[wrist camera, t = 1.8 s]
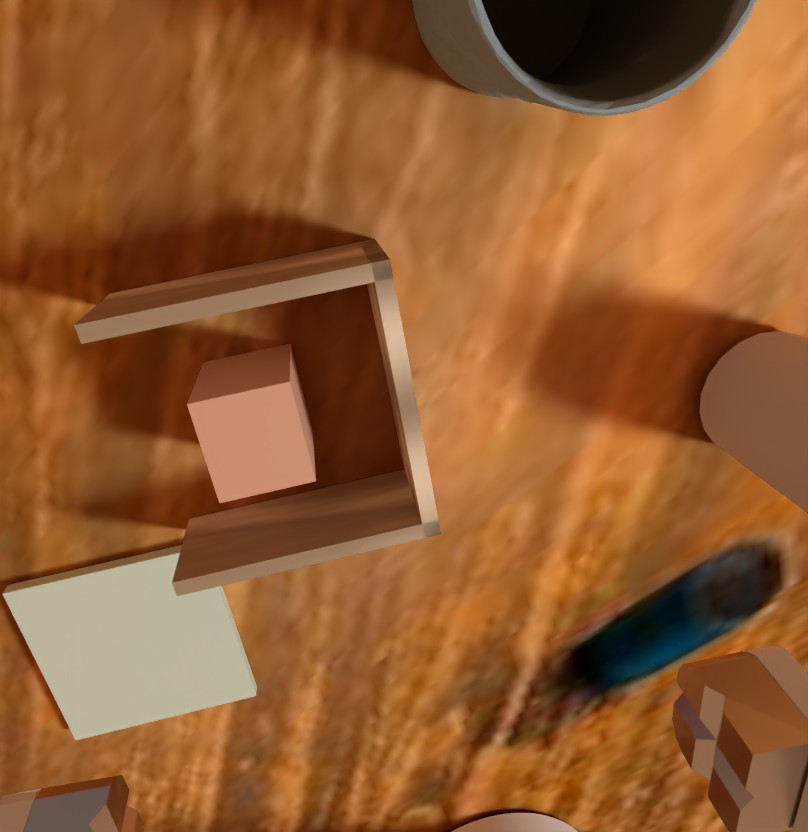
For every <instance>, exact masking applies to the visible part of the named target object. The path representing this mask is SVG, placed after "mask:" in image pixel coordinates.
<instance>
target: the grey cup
mask: <svg viewBox="0 0 808 832" xmlns="http://www.w3.org/2000/svg"><path fill="white" fill-rule="evenodd" d="M755 2H756V0H412V4H413V10H414V15H415V20H416V24H417V27H418V29H419V32H420V35H421V38H422V41H423V42H424V44H425V46H426V48H427V50H428V51H429V53H430V55H431V57H432V58H433V59H434V61H435V62H436V63H437V65H438V66H439V67H440V68H441V69H442V70H443V71H444V72H445V73H446V74H447V75H448V76H449V77H450V78H451V79H453V80H454V81H455V82H457V83H458V84H460V85H461V86H463V87H465V88H467V89H469V90H471V91H474V92H477V93H480V94H483V95H487V96H494V97H499V98H503V97H508V98H520V99H521V100H523V101H526V102H530V103H538V104H542V105H546V106H550V107H554V108H558V109H562V110H565V111H569V112H574V113H580V114H586V115H603V116H608V115H617V114H624V113H629V112H634V111H638V110H641V109H644V108H648V107H650V106H653V105H655V104H657V103H660V102H662V101H664V100H667V99H669V98H671V97H672V96H674V95H675V94H677V93H678V92H680V91H681V90H683V89H684V88H686V87H687V86H689V85H690V84H692V83H693V82H694V81H695V80H696V79H698V78H699V77H700V76H701V75H702V74H703V73H704V72H705V71H706V70H707V69H709V68H710V67H711V66H712V65H713V64H714V62H715V61H716V60H717V59H718V58H719V57H720V56H721V55H722V54H723V53H724V52H725V51H726V50H727V49H728V47H729V46H730V44H731V43H732V41H733V40H734V38H735V37H736V35H737V34H738V32H739V31H740V30H741V28H742V27H743V25H744V24H745V22H746V21H747V19H748V17H749V15H750V12H751V10H752V8H753V6H754V4H755Z"/></svg>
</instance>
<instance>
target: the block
mask: <svg viewBox="0 0 808 832" xmlns="http://www.w3.org/2000/svg"><path fill="white" fill-rule="evenodd" d="M187 406H188V409H189V412H190V415H191V418H192V421H193V424H194V427H195V431H196V434H197V437H198V440H199V443H200V446H201V449H202V452H203V455H204V458H205V461H206V464H207V467H208V470H209V473H210V476H211V479H212V482H213V485H214V488H215V491H216V494H217V498H218V501H219V503H223V502H228V501H232V500H237V499H241V498H245V497H250V496H254V495H258V494H263V493H267V492H271V491H276V490H280V489H285V488H289V487H293V486H298V485H302V484H306V483H311V482H315V481H316V475H315V460H314V444H313V430H312V426H311V422H310V418H309V414H308V411H307V407H306V403H305V399H304V395H303V391H302V387H301V383H300V379H299V375H298V371H297V367H296V363H295V360H294V356H293V352H292V348H291V344H286V345H281V346H276V347H272V348H267V349H262V350H258V351H253V352H249V353H244V354H239V355H235V356H230V357H225V358H221V359H216V360H211V361H207V362H203V364H202V367H201V369H200V372H199V374H198V377H197V379H196V382H195V385H194V387H193V390H192V392H191V395H190V397H189V400H188V403H187Z"/></svg>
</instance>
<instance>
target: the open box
mask: <svg viewBox="0 0 808 832" xmlns="http://www.w3.org/2000/svg"><path fill="white" fill-rule="evenodd" d="M363 284H367V286H368V291H369V296H370V301H371V306H372V311H373V316H374V321H375V326H376V331H377V336H378V341H379V346H380V351H381V356H382V361H383V366H384V371H385V375H386V380H387V385H388V390H389V395H390V400H391V405H392V410H393V415H394V420H395V425H396V430H397V435H398V440H399V445H400V450H401V455H402V460H403V465H404V470H399V471H395V472H391V473H386V474H382V475H378V476H373V477H369V478H364V479H360V480H356V481H351V482H347V483H343V484H338V485H334V486H330V487H325V488H321V489H316V490H312V491H308V492H303V493H299V494H295V495H290V496H286V497H282V498H277V499H273V500H268V501H264V502H260V503H255V504H251V505H247V506H242V507H238V508H234V509H229V510H225V511H220V512H216V513H212V514H207V515H203V516H199V517H194V518H190V519H189V521H188V525H187V529H186V532H185V536H184V540H183V543H182V547H181V551H180V555H179V558H178V562H177V566H176V569H175V573H174V577H173V581H172V584H173V587H174V590H175V592H176V595H177V596H181V595H185V594H189V593H193V592H198V591H202V590H206V589H210V588H215V587H219V586H223V585H227V584H232V583H236V582H240V581H244V580H249V579H253V578H257V577H261V576H265V575H270V574H274V573H278V572H282V571H287V570H291V569H295V568H299V567H304V566H308V565H312V564H316V563H321V562H325V561H329V560H333V559H337V558H342V557H346V556H350V555H354V554H359V553H363V552H367V551H371V550H376V549H380V548H384V547H388V546H393V545H397V544H401V543H405V542H409V541H414V540H418V539H422V538H426V537H431V536H435V535H439V534H441V532H440V526H439V521H438V516H437V510H436V505H435V500H434V494H433V489H432V483H431V478H430V473H429V467H428V462H427V457H426V451H425V446H424V440H423V435H422V430H421V424H420V419H419V414H418V408H417V403H416V397H415V392H414V387H413V381H412V376H411V371H410V365H409V360H408V354H407V349H406V344H405V338H404V333H403V328H402V322H401V317H400V311H399V306H398V301H397V295H396V290H395V285H394V279H393V274H392V268H391V263H390V259H389V258H388V256H387V255H386V254H385V252H384V251H383V250H382V248H381V247H380V245H379V244H378V243H377V241H376V240H375V239H371V240H366V241H361V242H356V243H352V244H347V245H342V246H337V247H332V248H327V249H323V250H318V251H313V252H308V253H303V254H299V255H294V256H289V257H284V258H279V259H274V260H270V261H265V262H260V263H255V264H250V265H245V266H241V267H236V268H231V269H226V270H221V271H216V272H212V273H207V274H202V275H197V276H192V277H187V278H183V279H178V280H173V281H168V282H163V283H158V284H154V285H149V286H144V287H139V288H134V289H129V290H125V291H120V292H115V293H110V294H109V295H108V296H107V297H106V298H104V299H103V300H102V301H101V302H100V303H99V304H98V305H97V306H95V307H94V308H93V309H92V310H91V311H90V312H89V313H87V314H86V315H85V316H84V317H83V318H82V319H81V320H80V321H78V322H77V323H76V324H75V325H74V326H75V329H76V331H77V334H78V337H79V339H80V342H81V344H84V343H89V342H93V341H98V340H103V339H108V338H112V337H117V336H122V335H127V334H131V333H136V332H141V331H145V330H150V329H155V328H160V327H164V326H169V325H174V324H179V323H183V322H188V321H193V320H198V319H202V318H207V317H212V316H217V315H221V314H226V313H231V312H236V311H240V310H245V309H250V308H254V307H259V306H264V305H269V304H273V303H278V302H283V301H288V300H292V299H297V298H302V297H307V296H311V295H316V294H321V293H326V292H330V291H335V290H340V289H345V288H349V287H354V286H359V285H363Z"/></svg>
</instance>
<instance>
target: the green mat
mask: <svg viewBox="0 0 808 832" xmlns="http://www.w3.org/2000/svg"><path fill="white" fill-rule="evenodd" d="M181 547H182V545H179V546H175V547H170V548H166V549H162V550H157V551H153V552H149V553H144V554H140V555H136V556H131V557H127V558H123V559H118V560H114V561H110V562H105V563H101V564H97V565H92V566H88V567H84V568H79V569H75V570H71V571H67V572H62V573H58V574H54V575H49V576H45V577H41V578H36V579H32V580H28V581H23V582H19V583H15V584H10V585H8V586H7V587H6V589H5V590H4V592H3V596H4V598H5V600H6V602H7V604H8V606H9V608H10V610H11V612H12V614H13V616H14V618H15V620H16V622H17V624H18V626H19V628H20V630H21V632H22V634H23V636H24V638H25V640H26V642H27V644H28V646H29V648H30V650H31V652H32V654H33V656H34V658H35V660H36V662H37V664H38V666H39V668H40V670H41V672H42V674H43V676H44V678H45V680H46V682H47V684H48V686H49V688H50V690H51V692H52V694H53V696H54V698H55V700H56V702H57V704H58V706H59V708H60V710H61V712H62V714H63V716H64V718H65V720H66V722H67V724H68V726H69V728H70V730H71V732H72V734H73V736H74V738H75V740H80V739H84V738H88V737H92V736H96V735H100V734H104V733H108V732H112V731H116V730H120V729H124V728H128V727H132V726H136V725H140V724H144V723H148V722H152V721H156V720H161V719H165V718H169V717H173V716H177V715H181V714H185V713H189V712H193V711H197V710H201V709H205V708H209V707H213V706H217V705H221V704H225V703H229V702H233V701H237V700H241V699H246V698H250V697H254V696H256V690H257V686H256V683H255V680H254V677H253V674H252V671H251V668H250V665H249V662H248V660H247V657H246V654H245V651H244V648H243V645H242V642H241V639H240V636H239V634H238V631H237V628H236V625H235V622H234V619H233V616H232V613H231V610H230V607H229V605H228V602H227V599H226V596H225V593H224V590H223V587H222V586H219V587H215V588H210V589H206V590H202V591H198V592H193V593H189V594H185V595H181V596H177V595H176V592H175V590H174V587H173V584H172V581H173V577H174V573H175V569H176V566H177V562H178V558H179V555H180V551H181Z"/></svg>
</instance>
